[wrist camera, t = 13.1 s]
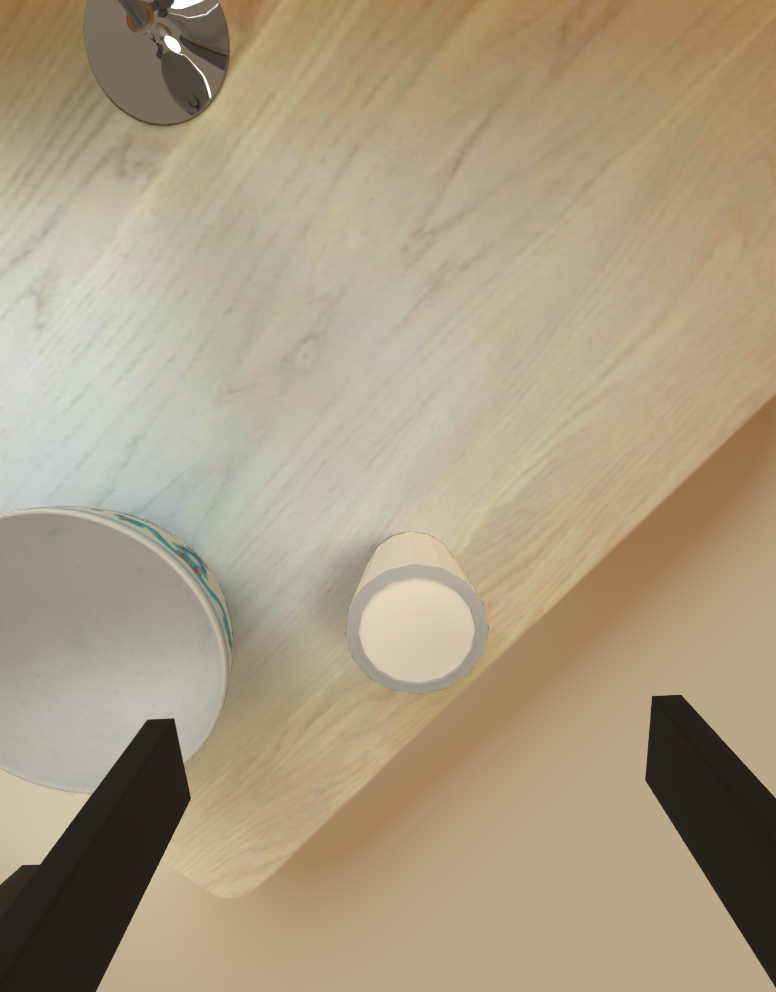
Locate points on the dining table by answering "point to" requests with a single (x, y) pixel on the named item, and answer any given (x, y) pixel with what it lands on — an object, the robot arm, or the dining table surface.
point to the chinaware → (102, 642)
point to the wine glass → (157, 55)
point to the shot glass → (415, 617)
